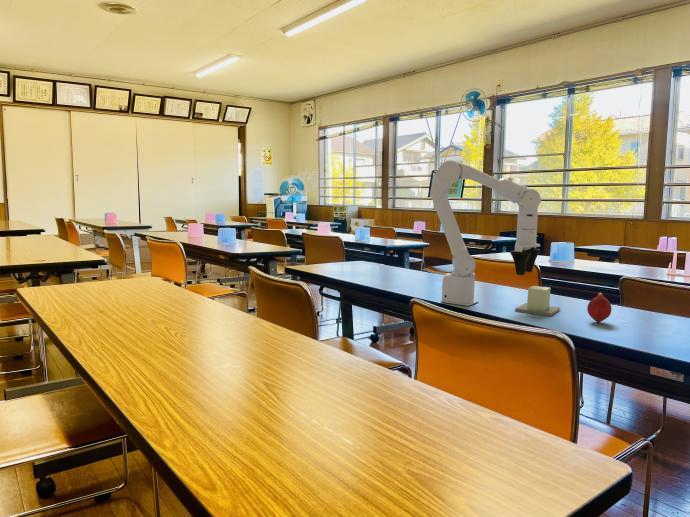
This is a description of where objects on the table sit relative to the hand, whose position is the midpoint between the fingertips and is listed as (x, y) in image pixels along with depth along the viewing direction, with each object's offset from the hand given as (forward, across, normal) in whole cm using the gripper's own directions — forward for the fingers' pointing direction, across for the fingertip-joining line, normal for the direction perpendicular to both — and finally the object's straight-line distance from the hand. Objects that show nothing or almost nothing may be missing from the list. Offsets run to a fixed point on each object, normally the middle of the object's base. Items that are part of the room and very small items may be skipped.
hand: (524, 273), depth 156 cm
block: (+9, -5, -6) cm, 12 cm away
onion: (+10, -9, -23) cm, 27 cm away
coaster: (+10, -5, -6) cm, 13 cm away
